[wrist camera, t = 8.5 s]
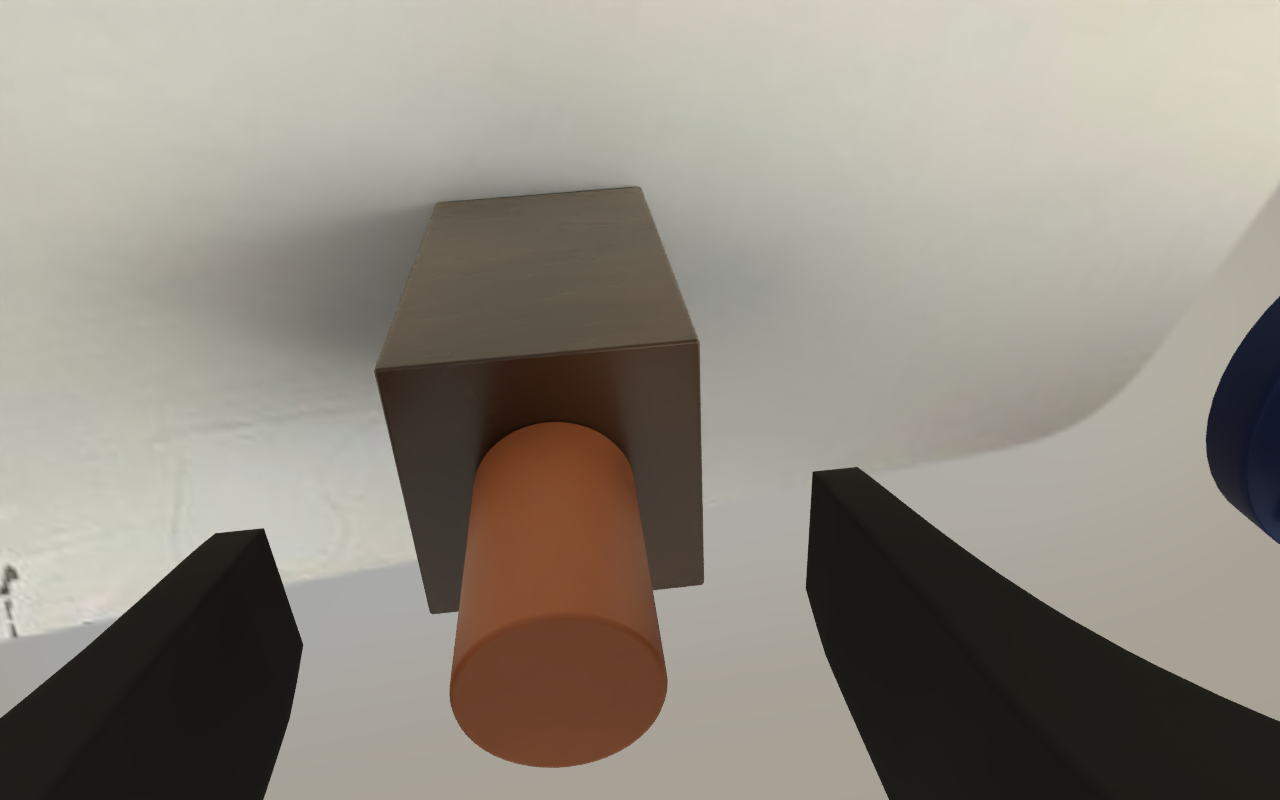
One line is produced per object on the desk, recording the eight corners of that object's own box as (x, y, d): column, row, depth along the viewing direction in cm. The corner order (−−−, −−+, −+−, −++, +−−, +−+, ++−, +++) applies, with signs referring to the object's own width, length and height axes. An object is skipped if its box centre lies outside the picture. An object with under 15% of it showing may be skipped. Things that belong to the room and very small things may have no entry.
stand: (641, 186, 19) (700, 339, 12) (650, 366, 21) (704, 586, 14) (435, 202, 19) (373, 369, 12) (467, 383, 21) (429, 615, 14)
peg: (629, 412, 12) (664, 604, 9) (638, 542, 14) (672, 756, 10) (462, 428, 12) (431, 630, 9) (486, 558, 13) (466, 781, 10)
